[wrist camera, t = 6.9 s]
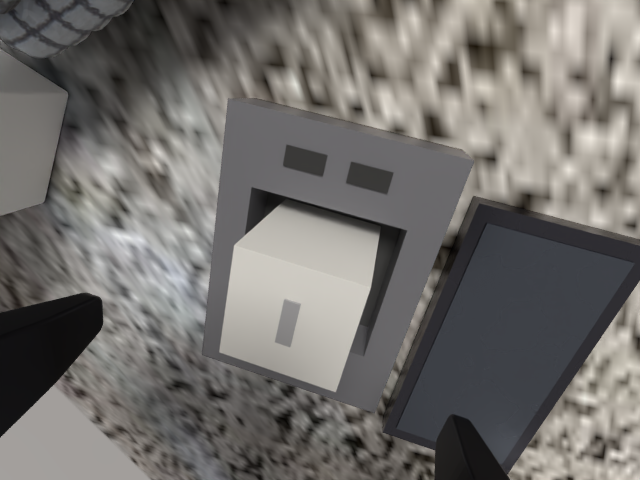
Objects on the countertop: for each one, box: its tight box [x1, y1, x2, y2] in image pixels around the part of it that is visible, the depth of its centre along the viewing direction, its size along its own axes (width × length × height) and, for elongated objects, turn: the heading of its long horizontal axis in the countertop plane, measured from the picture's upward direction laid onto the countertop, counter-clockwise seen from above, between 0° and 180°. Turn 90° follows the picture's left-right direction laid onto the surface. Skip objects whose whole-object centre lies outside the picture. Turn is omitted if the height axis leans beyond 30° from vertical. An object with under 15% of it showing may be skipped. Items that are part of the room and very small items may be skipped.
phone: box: [383, 196, 640, 474], centre depth 15 cm, size 12×6×1 cm, turn 168°
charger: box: [219, 199, 381, 392], centre depth 13 cm, size 4×4×5 cm
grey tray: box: [202, 98, 474, 413], centre depth 15 cm, size 11×8×2 cm
